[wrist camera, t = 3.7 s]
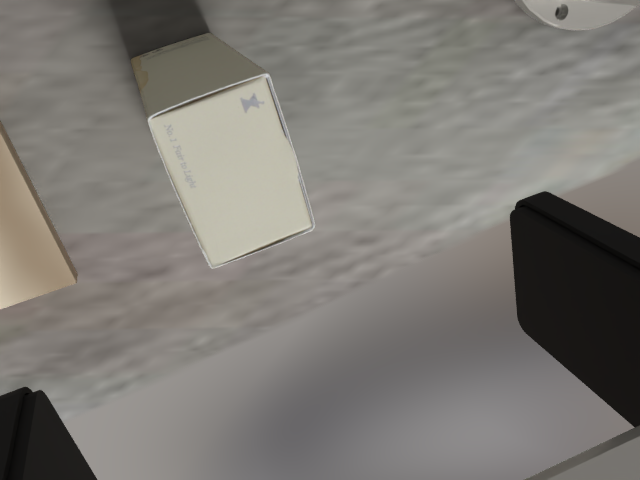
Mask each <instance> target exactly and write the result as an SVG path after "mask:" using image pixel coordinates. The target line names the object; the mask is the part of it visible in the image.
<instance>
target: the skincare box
mask: <svg viewBox="0 0 640 480" xmlns="http://www.w3.org/2000/svg"><path fill="white" fill-rule="evenodd" d="M131 64H132V68H133V71H134V74H135V77H136V80H137V83H138V87H139V90H140V94H141V97H142V101H143V104H144V108H145V112H146V117H147V122H148V125H149V128H150V131H151V133H152V136H153V139H154V142H155V144H156V147H157V150H158V152H159V155H160V157H161V159H162V162H163V164H164V167H165V169H166V172H167V174H168V177H169V179H170V181H171V184H172V186H173V188H174V191H175V193H176V195H177V198H178V200H179V202H180V205H181V207H182V209H183V211H184V214H185V216H186V218H187V220H188V223H189V225H190V227H191V229H192V231H193V233H194V236H195V238H196V240H197V242H198V244H199V246H200V249H201V251H202V253H203V255H204V257H205V259H206V261H207V263H208V265H209V267H210V268H217V267H220V266H222V265H225V264H228V263H230V262H233V261H236V260H238V259H241V258H244V257H246V256H249V255H252V254H254V253H257V252H260V251H262V250H265V249H267V248H270V247H273V246H275V245H278V244H281V243H283V242H286V241H288V240H290V239H293V238H295V237H298V236H301V235H303V234H306V233H308V232H310V231H312V230H313V229H314V227H315V221H314V217H313V213H312V210H311V206H310V202H309V199H308V195H307V192H306V188H305V185H304V181H303V178H302V174H301V171H300V167H299V164H298V160H297V157H296V154H295V151H294V148H293V144H292V141H291V138H290V135H289V132H288V129H287V126H286V123H285V120H284V116H283V113H282V110H281V107H280V104H279V101H278V98H277V95H276V92H275V90H274V86H273V83H272V80H271V77H270V74H269V73H268V72H266V71H265V70H264V69H262V68H261V67H259V66H258V65H256V64H255V63H253V62H252V61H250V60H249V59H247V58H246V57H245V56H243V55H242V54H240V53H239V52H237V51H236V50H234V49H233V48H231V47H230V46H229V45H227V44H226V43H224V42H223V41H221V40H220V39H218V38H217V37H216V36H214V35H213V34H211V33H206V34H203V35H200V36H196V37H193V38H190V39H186V40H183V41H180V42H177V43H174V44H171V45H168V46H165V47H162V48H159V49H156V50H153V51H150V52H148V53H145V54H142V55H140V56H137V57H134V58H132V59H131Z"/></svg>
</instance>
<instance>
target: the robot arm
mask: <svg viewBox="0 0 640 480" xmlns="http://www.w3.org/2000/svg"><path fill="white" fill-rule="evenodd" d="M514 2H515V3H516V4H517V5H518V6H519V7H520V8H521V9H522V10H523V11H524V12H525V13H526V14H527V15H528V16H530V17H532V18H533V19H535V20H537V21H538V22H540V23H542V24H545V25H548V26H551V27H555V28H558V29H567V30H575V31H576V30H588V29H595V28H598V27H601V26H604V25H607V24H610V23H612V22H614V21H616V20H617V19H619V18H621V17H623V16H625V15H626V14H628V13H629V12H630V11H632V10H633V9H634V8H635V7H637V6H640V0H514ZM510 226H511V239H512V252H513V265H514V279H515V292H516V305H517V317H518V321H519V323H520V326H521V327H522V329H523V330H524V332H526V334H527V335H528V336H530V337H531V338H532V339H533V340H534V341H535V342H537V343H538V344H539V345H540V346H541V347H542V348H544V349H545V350H546V351H547V352H548V353H549V354H551V355H552V356H553V357H554V358H555V359H556V360H557V361H559V362H560V363H561V364H562V365H563V366H564V367H566V368H567V369H568V370H569V371H570V372H571V373H572V374H574V375H575V376H576V377H577V378H578V379H580V380H581V381H582V382H583V383H584V384H585V385H586V386H588V387H589V388H590V389H591V390H592V391H593V392H595V393H596V394H597V395H598V396H599V397H600V398H602V399H603V400H604V401H605V402H606V403H607V404H608V405H610V406H611V407H612V408H613V409H614V410H615V411H616V412H618V413H619V414H620V415H621V416H622V417H623V418H625V419H626V420H627V421H628V422H629V423H630V424H632V425H633V426H634V427H635V428H633V429H631V430H629V431H627V432H625V433H623V434H620V435H618V436H616V437H614V438H612V439H610V440H608V441H606V442H603V443H601V444H599V445H597V446H595V447H593V448H591V449H589V450H586V451H584V452H582V453H580V454H578V455H576V456H574V457H572V458H569V459H567V460H565V461H563V462H561V463H559V464H557V465H555V466H552V467H550V468H548V469H546V470H544V471H542V472H540V473H538V474H535V475H533V476H531V477H529V478H527V479H525V480H640V238H639V237H637V236H635V235H633V234H631V233H629V232H627V231H625V230H623V229H621V228H619V227H617V226H615V225H613V224H611V223H609V222H607V221H605V220H603V219H601V218H599V217H597V216H595V215H593V214H591V213H589V212H587V211H585V210H583V209H581V208H579V207H577V206H575V205H573V204H571V203H569V202H567V201H565V200H563V199H561V198H559V197H557V196H555V195H553V194H551V193H549V192H546V191H545V192H541V193H538V194H535V195H533V196H530V197H527V198H525V199H522V200H519V201H518V202H517V203H516V206H515V210H513V211H512V212H511V214H510ZM0 480H97V478H96V477H95V475H94V473H93V472H92V470H91V468H90V467H89V465H88V463H87V462H86V460H85V459H84V457H83V455H82V454H81V452H80V450H79V449H78V447H77V445H76V444H75V442H74V440H73V439H72V437H71V435H70V434H69V432H68V430H67V429H66V427H65V425H64V424H63V422H62V420H61V419H60V417H59V415H58V414H57V412H56V410H55V409H54V407H53V405H52V404H51V402H50V401H49V399H48V397H47V396H46V394H45V393H44V392H43V391H42V390H38V391H36V392H32V391H31V390H30V389H29V388H28V387H23V388H20V389H17V390H15V391H12V392H10V393H7V394H4V395H2V396H0Z"/></svg>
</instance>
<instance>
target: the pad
mask: <svg viewBox="0 0 640 480" xmlns="http://www.w3.org/2000/svg"><path fill="white" fill-rule="evenodd" d="M77 276H78V274H77V272H76V270H75V268H74V266H73V264H72V262H71V260H70V258H69V256H68V254H67V252H66V250H65V248H64V246H63V244H62V242H61V240H60V238H59V236H58V234H57V232H56V230H55V228H54V226H53V224H52V222H51V220H50V218H49V216H48V214H47V212H46V210H45V209H44V207H43V205H42V203H41V201H40V199H39V197H38V195H37V193H36V191H35V189H34V187H33V185H32V183H31V181H30V179H29V177H28V175H27V173H26V171H25V169H24V167H23V165H22V163H21V161H20V159H19V157H18V155H17V153H16V151H15V149H14V147H13V145H12V143H11V141H10V139H9V137H8V135H7V133H6V131H5V129H4V127H3V125H2V123H1V121H0V309H2V308H5V307H8V306H11V305H14V304H17V303H20V302H23V301H26V300H29V299H31V298H34V297H37V296H40V295H43V294H46V293H49V292H52V291H55V290H58V289H61V288H63V287H66V286H69V285H72V284H75V283H77Z"/></svg>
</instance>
